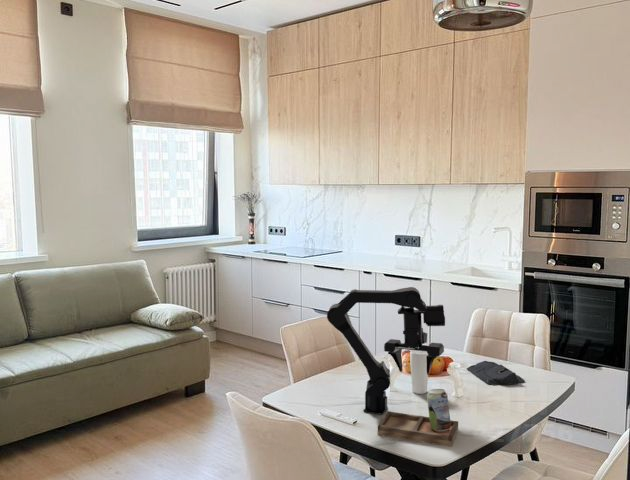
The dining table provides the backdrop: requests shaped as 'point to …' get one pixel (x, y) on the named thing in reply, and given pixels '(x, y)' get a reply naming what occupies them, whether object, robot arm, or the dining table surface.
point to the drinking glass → (419, 371)
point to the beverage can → (438, 410)
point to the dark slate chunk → (494, 374)
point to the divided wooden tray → (415, 429)
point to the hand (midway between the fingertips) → (414, 372)
